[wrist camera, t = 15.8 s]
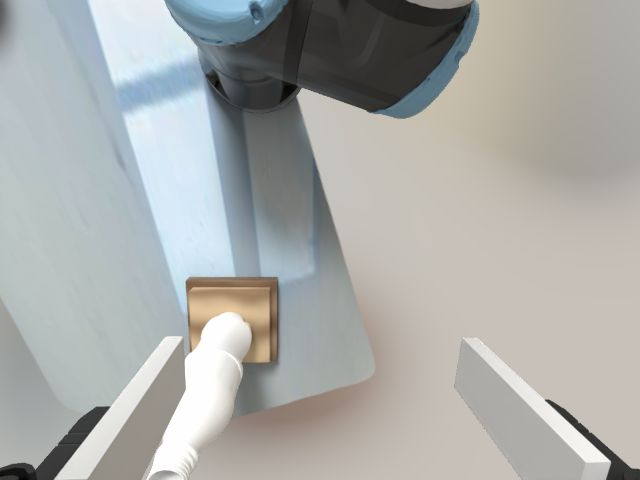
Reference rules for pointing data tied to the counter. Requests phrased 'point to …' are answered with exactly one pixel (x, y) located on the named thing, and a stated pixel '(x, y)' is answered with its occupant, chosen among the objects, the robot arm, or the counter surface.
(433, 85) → the robot arm
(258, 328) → the oak slab
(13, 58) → the counter surface
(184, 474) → the water bottle
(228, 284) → the walnut slab
